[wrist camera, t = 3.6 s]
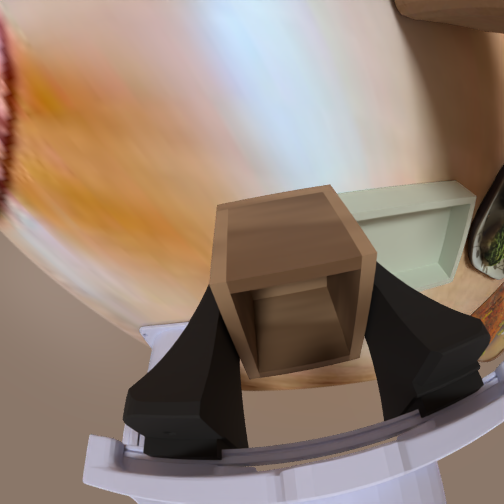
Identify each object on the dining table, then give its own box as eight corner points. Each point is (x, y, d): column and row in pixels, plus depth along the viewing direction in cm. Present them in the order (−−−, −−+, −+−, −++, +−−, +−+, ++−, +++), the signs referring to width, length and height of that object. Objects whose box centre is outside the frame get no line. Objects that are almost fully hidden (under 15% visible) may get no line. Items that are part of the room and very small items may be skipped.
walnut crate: (332, 283, 15) (359, 357, 11) (245, 300, 16) (249, 379, 12) (330, 184, 12) (377, 252, 8) (217, 205, 12) (209, 284, 8)
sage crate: (437, 262, 24) (452, 281, 22) (319, 289, 25) (327, 313, 22) (455, 180, 19) (476, 196, 16) (315, 196, 19) (327, 217, 17)
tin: (519, 263, 26) (549, 301, 19) (521, 271, 27) (548, 308, 20) (453, 329, 33) (475, 372, 26) (458, 334, 34) (479, 375, 27)
